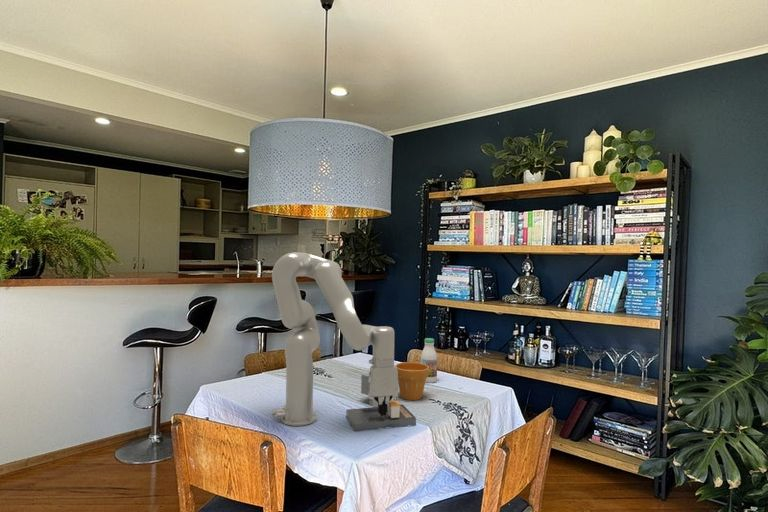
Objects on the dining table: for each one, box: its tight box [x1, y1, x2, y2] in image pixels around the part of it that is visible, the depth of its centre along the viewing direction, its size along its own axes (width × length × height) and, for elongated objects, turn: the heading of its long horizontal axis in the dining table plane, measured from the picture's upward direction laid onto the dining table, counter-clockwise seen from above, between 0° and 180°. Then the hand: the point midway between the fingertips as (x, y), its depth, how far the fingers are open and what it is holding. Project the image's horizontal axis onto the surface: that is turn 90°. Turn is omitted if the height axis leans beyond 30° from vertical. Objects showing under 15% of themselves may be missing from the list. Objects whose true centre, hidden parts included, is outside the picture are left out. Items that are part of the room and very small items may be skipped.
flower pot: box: [394, 361, 429, 401], centre depth 186 cm, size 14×14×13 cm
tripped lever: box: [388, 400, 401, 418], centre depth 157 cm, size 3×4×5 cm
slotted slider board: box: [345, 404, 417, 432], centre depth 159 cm, size 22×14×3 cm, turn 107°
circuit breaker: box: [360, 366, 398, 407], centre depth 178 cm, size 8×14×15 cm, turn 51°
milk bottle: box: [420, 337, 438, 384], centre depth 210 cm, size 8×8×20 cm
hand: (382, 414), depth 155 cm, fingers closed
